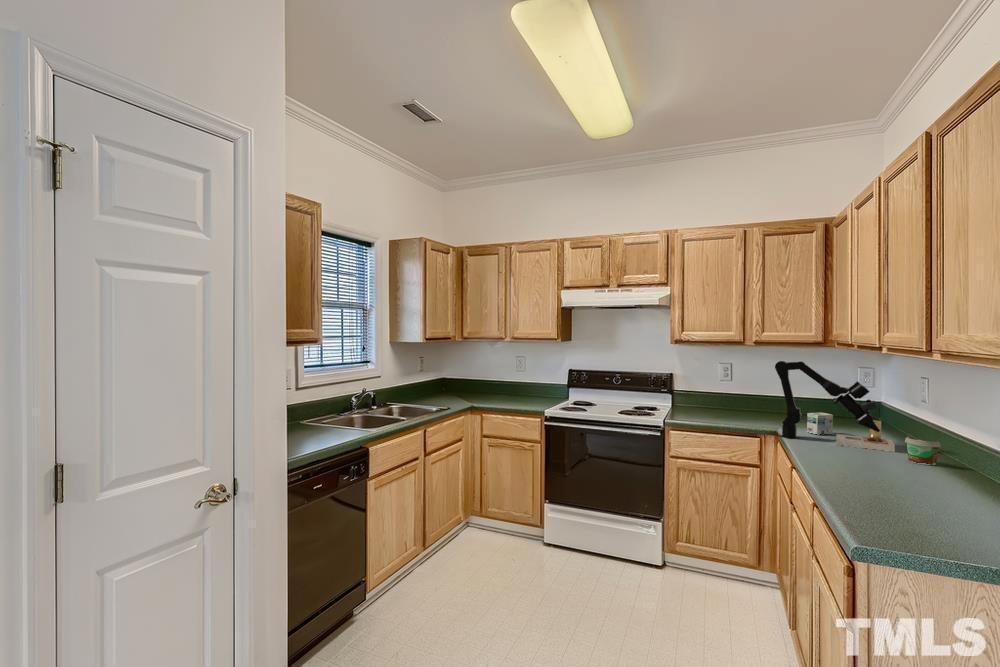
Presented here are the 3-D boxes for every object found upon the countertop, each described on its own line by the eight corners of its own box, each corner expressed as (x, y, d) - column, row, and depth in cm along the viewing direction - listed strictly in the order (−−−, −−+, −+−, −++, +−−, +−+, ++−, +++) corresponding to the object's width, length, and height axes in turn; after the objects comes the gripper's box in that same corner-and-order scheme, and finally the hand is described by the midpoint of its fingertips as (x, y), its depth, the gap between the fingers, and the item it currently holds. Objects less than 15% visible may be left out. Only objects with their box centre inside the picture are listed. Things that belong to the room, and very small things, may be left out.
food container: (897, 459, 214) (898, 436, 214) (906, 458, 217) (907, 435, 217) (930, 467, 203) (931, 443, 203) (940, 466, 205) (940, 442, 205)
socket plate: (836, 445, 240) (836, 438, 240) (836, 439, 252) (836, 433, 252) (894, 452, 228) (894, 444, 228) (891, 446, 240) (891, 439, 239)
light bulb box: (817, 435, 262) (817, 415, 262) (806, 432, 268) (806, 412, 268) (833, 434, 265) (833, 414, 265) (821, 431, 271) (822, 412, 271)
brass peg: (877, 445, 234) (877, 422, 234) (867, 443, 239) (867, 420, 238) (882, 444, 236) (883, 421, 236) (872, 442, 240) (873, 419, 240)
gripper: (867, 396, 231) (896, 423, 225) (864, 392, 247) (892, 417, 241) (846, 411, 236) (874, 438, 230) (845, 406, 251) (871, 431, 246)
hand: (878, 430), depth 236 cm, fingers closed on brass peg, 4 cm apart
